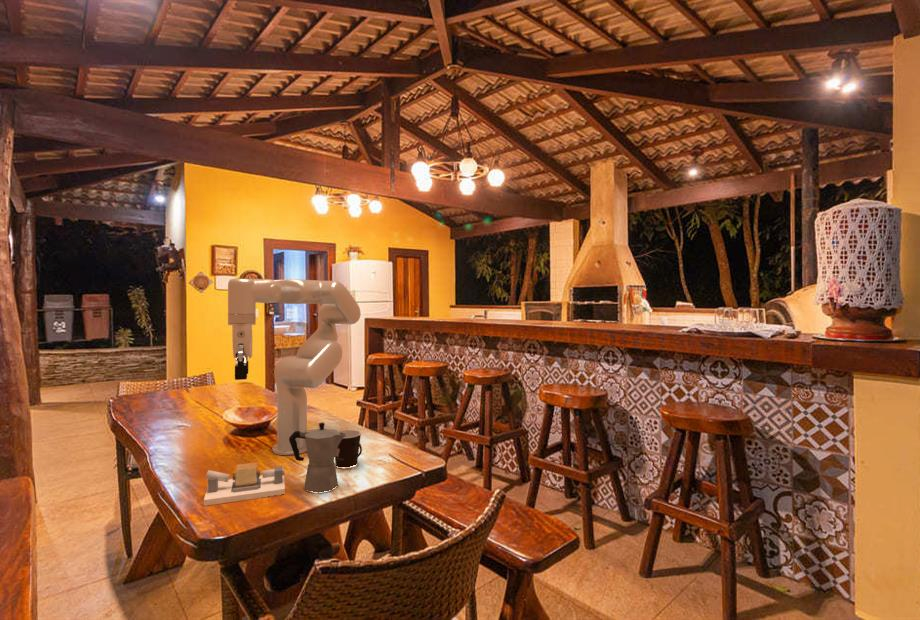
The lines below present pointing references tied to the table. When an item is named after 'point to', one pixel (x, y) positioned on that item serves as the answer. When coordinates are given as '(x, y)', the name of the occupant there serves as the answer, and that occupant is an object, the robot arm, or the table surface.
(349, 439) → the coffee mug
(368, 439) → the table surface
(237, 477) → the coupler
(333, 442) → the coffeepot
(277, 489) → the shaft frame
